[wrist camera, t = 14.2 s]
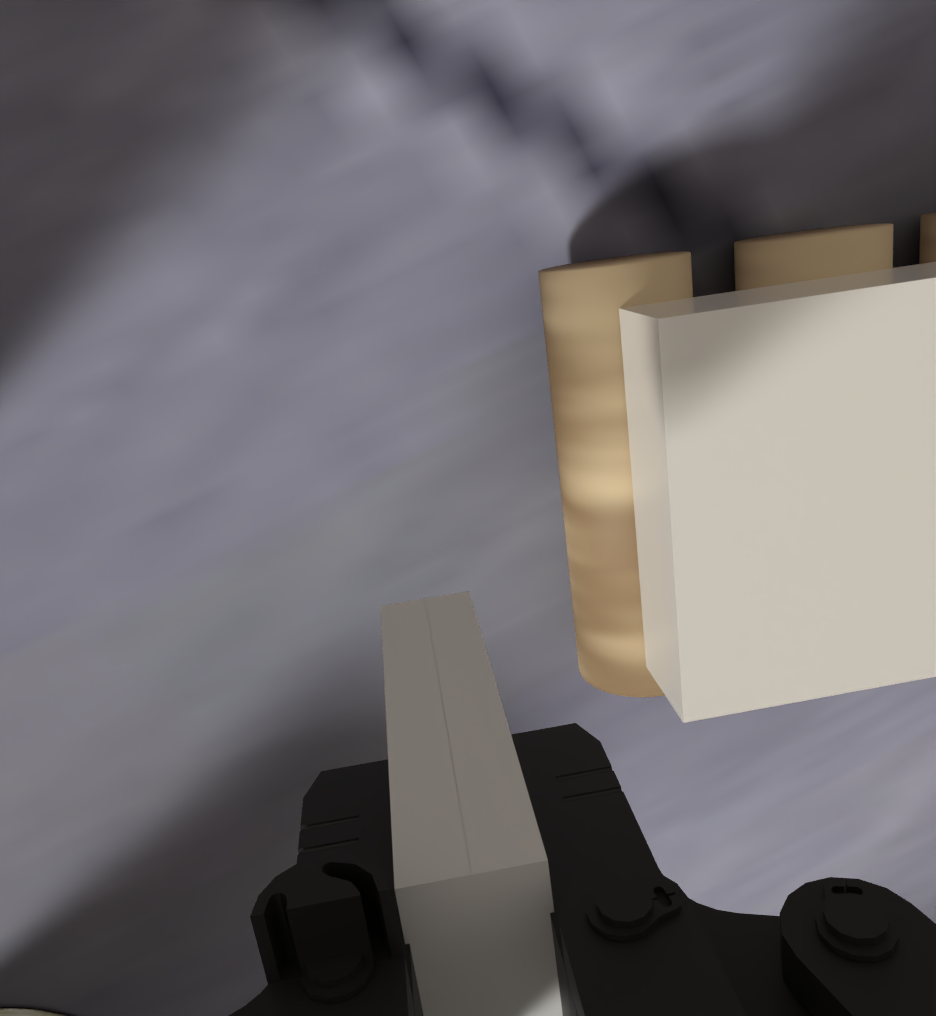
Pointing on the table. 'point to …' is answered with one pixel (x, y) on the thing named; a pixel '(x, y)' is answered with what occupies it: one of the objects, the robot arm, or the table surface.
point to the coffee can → (25, 1012)
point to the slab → (785, 488)
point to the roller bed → (603, 415)
